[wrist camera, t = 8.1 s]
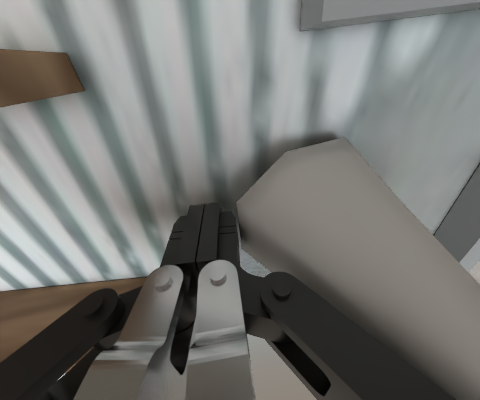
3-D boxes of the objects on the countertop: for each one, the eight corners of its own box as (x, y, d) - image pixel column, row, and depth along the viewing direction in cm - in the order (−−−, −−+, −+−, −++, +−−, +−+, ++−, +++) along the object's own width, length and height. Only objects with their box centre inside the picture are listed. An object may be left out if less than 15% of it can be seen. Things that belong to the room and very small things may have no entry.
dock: (302, -18, 6) (328, -46, 5) (663, -64, 6) (820, -110, 5) (285, 280, 16) (292, 305, 14) (428, 265, 16) (452, 290, 14)
